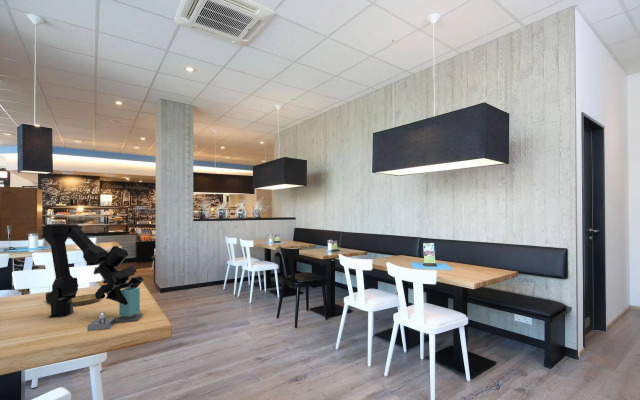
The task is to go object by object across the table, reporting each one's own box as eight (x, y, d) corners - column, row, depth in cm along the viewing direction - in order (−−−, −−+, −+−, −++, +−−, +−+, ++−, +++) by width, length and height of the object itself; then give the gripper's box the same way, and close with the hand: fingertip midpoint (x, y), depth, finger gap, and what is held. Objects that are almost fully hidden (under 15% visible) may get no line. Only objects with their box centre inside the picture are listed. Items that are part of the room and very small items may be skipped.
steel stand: (87, 330, 117) (87, 317, 117) (95, 324, 123) (95, 311, 124) (109, 328, 119) (109, 315, 119) (115, 322, 125) (115, 309, 125)
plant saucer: (57, 309, 148) (57, 303, 148) (71, 300, 162) (72, 295, 162) (93, 305, 152) (93, 300, 152) (105, 297, 166) (105, 292, 166)
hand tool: (61, 306, 152) (61, 296, 152) (50, 308, 149) (51, 298, 149) (54, 299, 165) (54, 290, 165) (44, 301, 162) (44, 292, 162)
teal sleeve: (119, 315, 128) (119, 290, 128) (129, 311, 132) (129, 287, 133) (129, 316, 126) (129, 291, 127) (139, 312, 131) (139, 288, 132)
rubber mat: (115, 323, 124) (115, 321, 124) (121, 317, 132) (121, 315, 132) (137, 320, 126) (137, 319, 126) (143, 314, 134) (143, 313, 134)
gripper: (101, 264, 122) (124, 294, 119) (139, 257, 140) (161, 283, 137) (84, 284, 124) (107, 314, 121) (125, 275, 142) (145, 301, 139)
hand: (132, 302), depth 129 cm, fingers closed on teal sleeve, 5 cm apart
